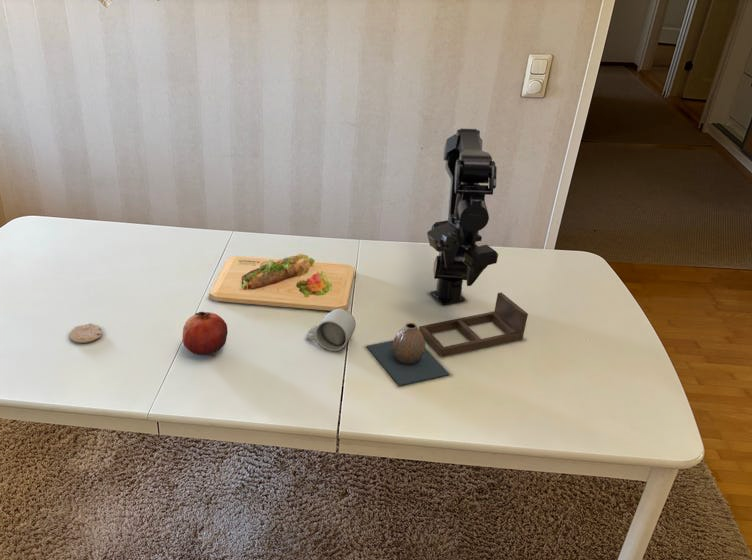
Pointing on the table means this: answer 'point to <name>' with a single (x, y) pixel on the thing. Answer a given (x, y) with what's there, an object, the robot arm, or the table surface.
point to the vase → (409, 344)
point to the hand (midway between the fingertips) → (458, 276)
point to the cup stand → (504, 317)
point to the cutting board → (284, 282)
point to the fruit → (204, 333)
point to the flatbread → (85, 333)
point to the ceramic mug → (334, 330)
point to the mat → (407, 365)
